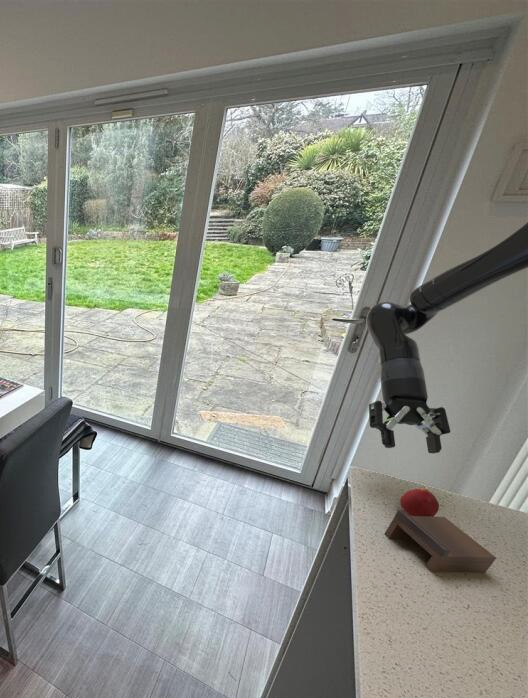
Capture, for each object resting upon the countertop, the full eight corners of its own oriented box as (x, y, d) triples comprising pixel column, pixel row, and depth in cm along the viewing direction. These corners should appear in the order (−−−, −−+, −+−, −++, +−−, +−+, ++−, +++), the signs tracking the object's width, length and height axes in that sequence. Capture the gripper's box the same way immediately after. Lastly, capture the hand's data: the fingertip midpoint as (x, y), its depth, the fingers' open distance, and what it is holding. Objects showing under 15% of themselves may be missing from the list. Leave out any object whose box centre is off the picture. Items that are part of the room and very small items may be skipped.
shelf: (432, 534, 84) (448, 510, 81) (482, 577, 75) (502, 551, 72) (384, 533, 84) (398, 509, 81) (427, 575, 75) (445, 550, 72)
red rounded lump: (432, 520, 87) (451, 491, 84) (424, 531, 84) (443, 502, 81) (398, 504, 92) (415, 475, 88) (389, 514, 89) (406, 485, 85)
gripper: (379, 372, 93) (388, 442, 88) (451, 379, 90) (465, 451, 85) (357, 383, 100) (364, 448, 95) (424, 389, 97) (435, 457, 92)
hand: (412, 450), depth 90 cm, fingers open, 8 cm apart
